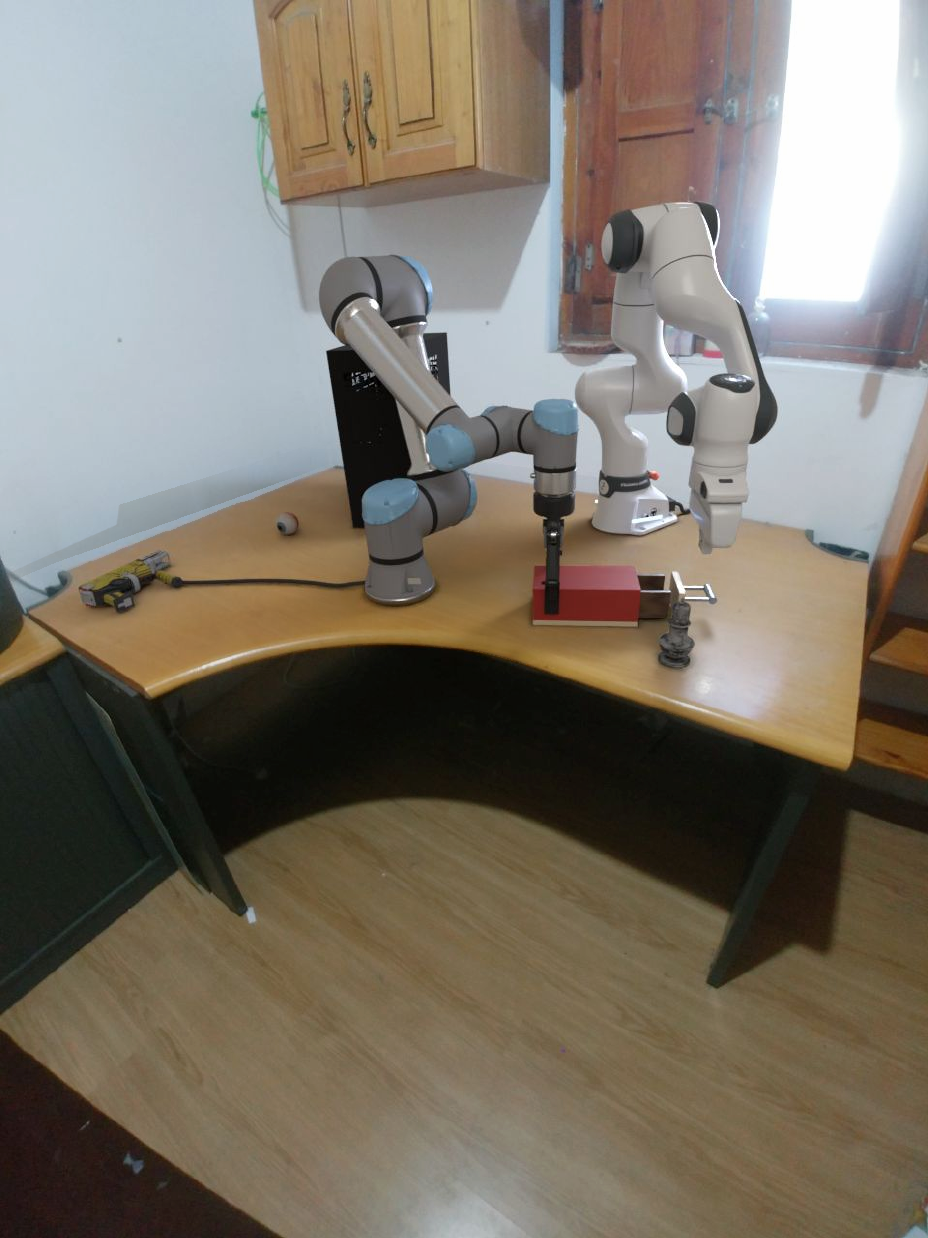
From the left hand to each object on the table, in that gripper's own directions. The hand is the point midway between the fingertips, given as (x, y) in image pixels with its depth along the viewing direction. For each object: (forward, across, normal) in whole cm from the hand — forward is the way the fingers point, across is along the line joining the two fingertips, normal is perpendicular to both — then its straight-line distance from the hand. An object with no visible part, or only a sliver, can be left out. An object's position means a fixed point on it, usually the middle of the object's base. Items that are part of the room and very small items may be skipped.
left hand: (551, 599), depth 119 cm
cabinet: (+3, 0, +6) cm, 7 cm away
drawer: (+2, 0, +18) cm, 18 cm away
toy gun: (+3, -7, -93) cm, 93 cm away
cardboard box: (+3, -63, -43) cm, 76 cm away
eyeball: (+3, -40, -72) cm, 82 cm away
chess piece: (+3, +16, +21) cm, 27 cm away
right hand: (-11, 0, +28) cm, 29 cm away
